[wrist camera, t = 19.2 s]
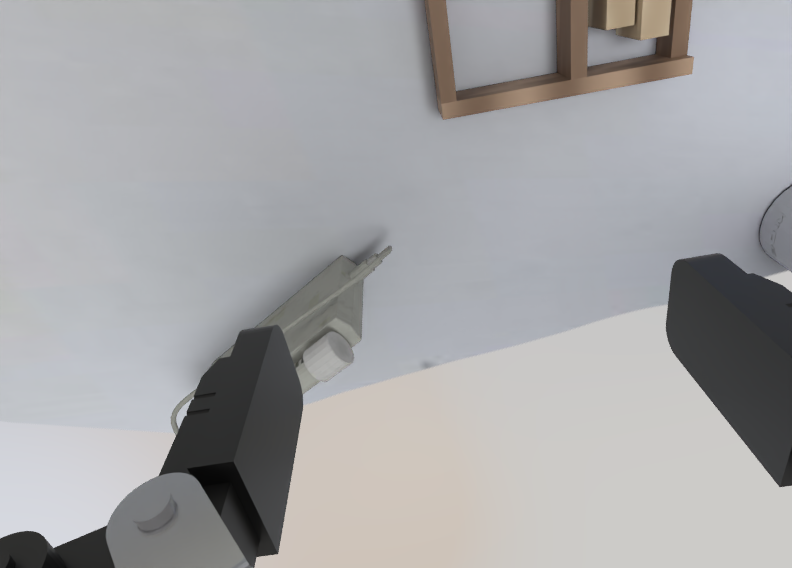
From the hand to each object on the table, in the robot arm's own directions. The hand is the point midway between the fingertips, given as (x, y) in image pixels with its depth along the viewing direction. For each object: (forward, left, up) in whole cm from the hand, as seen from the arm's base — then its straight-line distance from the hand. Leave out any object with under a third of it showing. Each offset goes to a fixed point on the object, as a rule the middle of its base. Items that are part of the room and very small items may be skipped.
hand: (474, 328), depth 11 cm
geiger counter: (+14, +20, -36) cm, 44 cm away
